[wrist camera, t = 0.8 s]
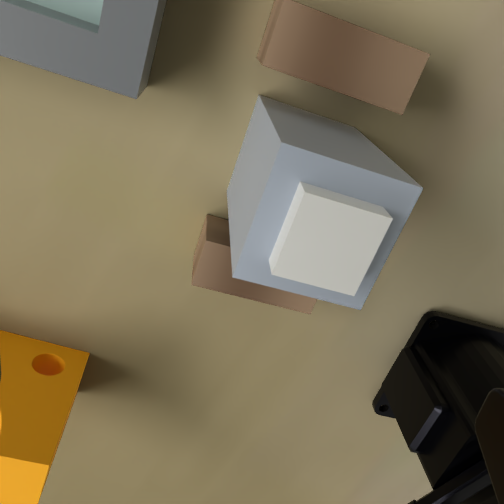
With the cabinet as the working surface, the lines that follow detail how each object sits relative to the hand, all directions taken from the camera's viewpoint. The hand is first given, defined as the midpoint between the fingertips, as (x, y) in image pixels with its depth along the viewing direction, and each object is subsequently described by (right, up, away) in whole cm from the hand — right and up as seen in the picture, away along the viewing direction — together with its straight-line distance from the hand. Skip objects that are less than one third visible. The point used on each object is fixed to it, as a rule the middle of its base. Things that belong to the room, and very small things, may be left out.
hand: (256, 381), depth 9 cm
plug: (+1, +6, +11) cm, 12 cm away
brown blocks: (+1, +6, +11) cm, 12 cm away
